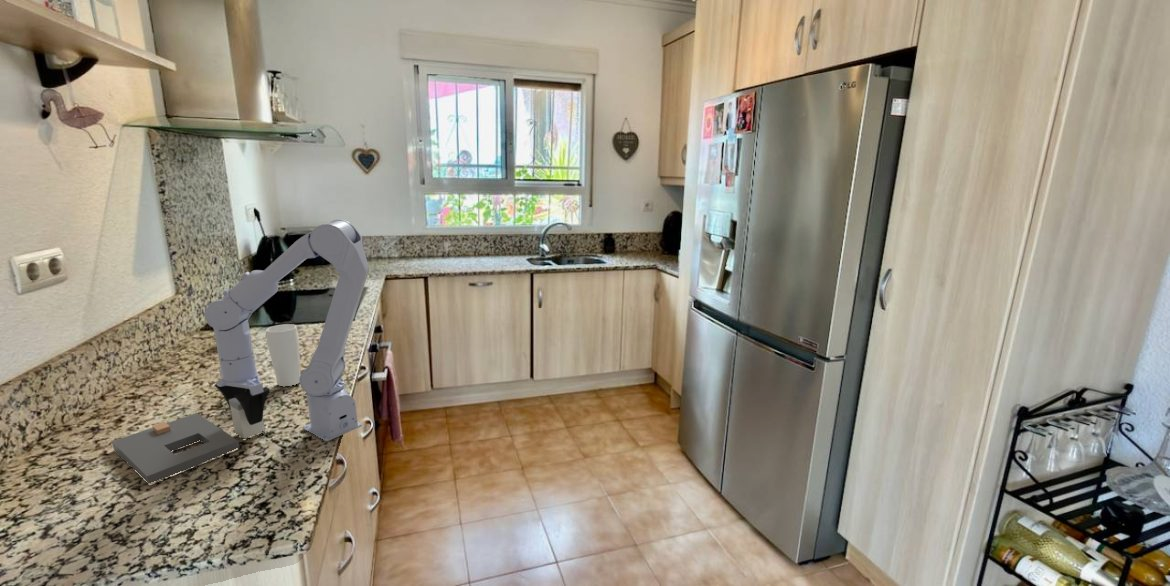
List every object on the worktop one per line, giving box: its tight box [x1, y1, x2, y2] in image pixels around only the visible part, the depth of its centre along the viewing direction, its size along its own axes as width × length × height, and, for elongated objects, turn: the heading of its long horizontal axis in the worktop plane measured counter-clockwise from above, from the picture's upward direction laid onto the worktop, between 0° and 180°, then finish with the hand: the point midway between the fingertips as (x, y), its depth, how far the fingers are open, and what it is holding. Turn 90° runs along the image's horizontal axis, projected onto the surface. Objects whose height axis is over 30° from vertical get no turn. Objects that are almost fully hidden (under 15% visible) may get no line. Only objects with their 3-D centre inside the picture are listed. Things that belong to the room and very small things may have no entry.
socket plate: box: [111, 412, 240, 483], centre depth 97 cm, size 20×14×3 cm
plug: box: [228, 398, 266, 438], centre depth 102 cm, size 4×4×8 cm
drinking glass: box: [265, 323, 302, 388], centre depth 125 cm, size 7×7×15 cm
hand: (247, 417), depth 102 cm, fingers open, 7 cm apart
